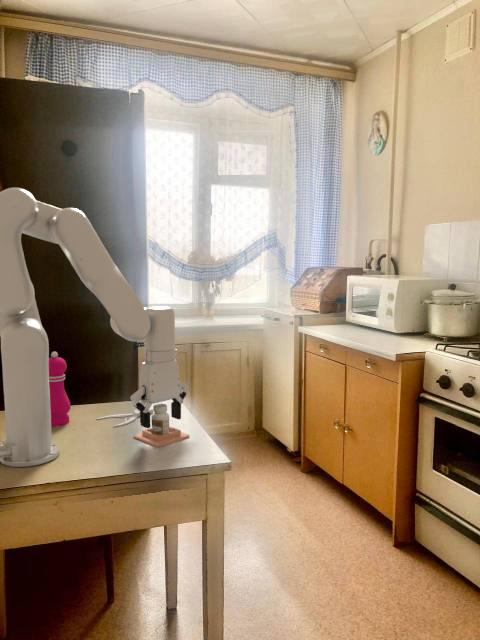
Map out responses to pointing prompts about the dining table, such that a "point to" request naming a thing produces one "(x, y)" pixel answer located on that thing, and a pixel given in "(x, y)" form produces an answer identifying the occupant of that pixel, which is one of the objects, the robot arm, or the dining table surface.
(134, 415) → the pliers
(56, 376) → the pepper mill
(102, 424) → the dining table surface
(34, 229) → the robot arm
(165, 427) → the pill bottle
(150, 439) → the rest
